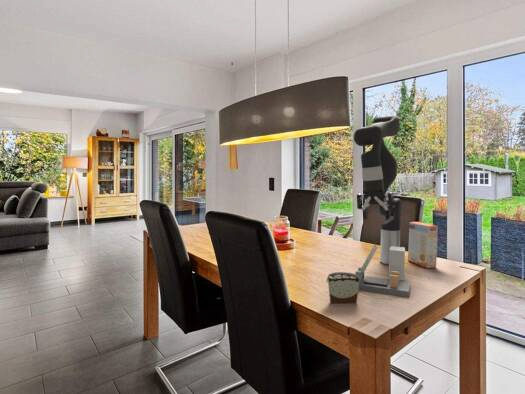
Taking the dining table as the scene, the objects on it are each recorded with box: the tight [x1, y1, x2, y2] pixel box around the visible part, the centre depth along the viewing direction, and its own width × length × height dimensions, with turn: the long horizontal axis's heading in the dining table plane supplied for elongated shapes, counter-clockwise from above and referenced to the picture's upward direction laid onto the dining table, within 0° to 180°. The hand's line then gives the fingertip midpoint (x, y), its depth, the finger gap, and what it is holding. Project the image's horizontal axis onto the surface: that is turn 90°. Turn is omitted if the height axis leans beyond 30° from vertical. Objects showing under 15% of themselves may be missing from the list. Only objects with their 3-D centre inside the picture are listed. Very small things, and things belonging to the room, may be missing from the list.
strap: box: [360, 244, 379, 276], centre depth 138 cm, size 4×2×15 cm, turn 154°
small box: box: [388, 246, 406, 281], centre depth 149 cm, size 8×6×13 cm
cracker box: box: [407, 221, 439, 269], centre depth 169 cm, size 14×6×21 cm, turn 13°
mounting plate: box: [355, 266, 411, 298], centre depth 137 cm, size 12×26×6 cm, turn 64°
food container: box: [326, 271, 361, 306], centre depth 122 cm, size 12×6×10 cm, turn 92°
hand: (376, 219), depth 132 cm, fingers open, 8 cm apart
